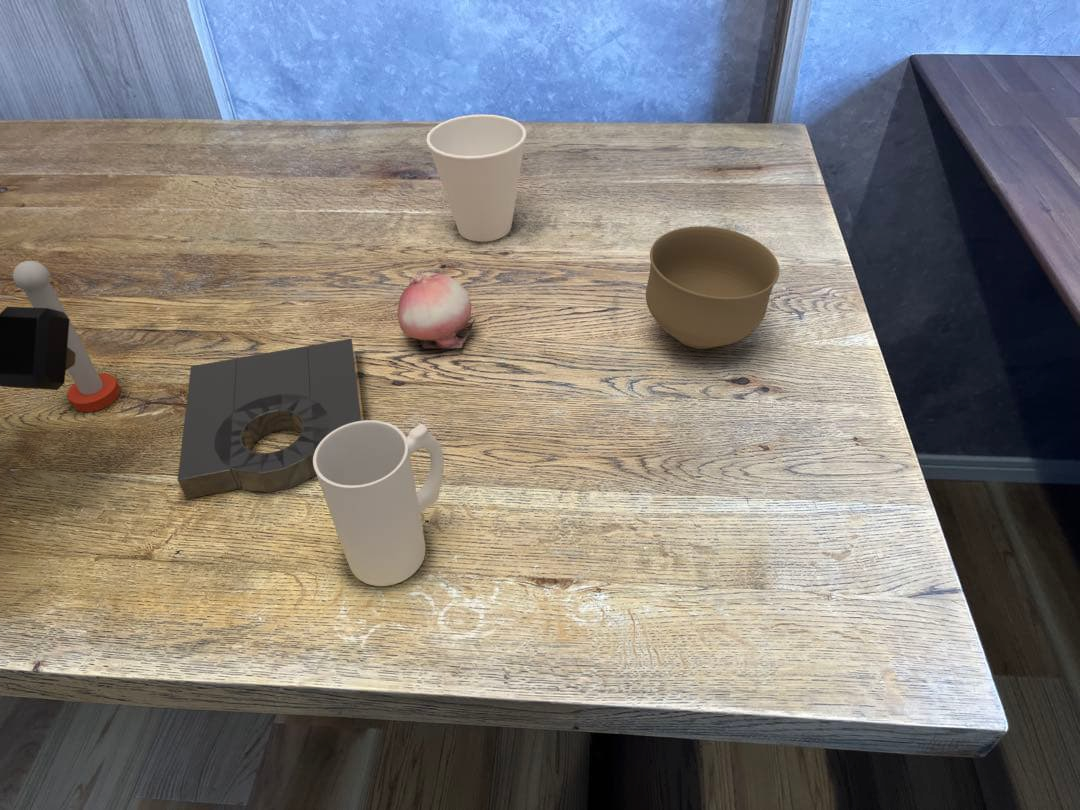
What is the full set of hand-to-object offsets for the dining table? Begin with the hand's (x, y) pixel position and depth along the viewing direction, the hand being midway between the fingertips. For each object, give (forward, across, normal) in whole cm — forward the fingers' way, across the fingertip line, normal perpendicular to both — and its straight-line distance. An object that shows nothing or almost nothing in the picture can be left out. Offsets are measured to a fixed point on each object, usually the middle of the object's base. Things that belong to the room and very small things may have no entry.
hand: (25, 356), depth 72 cm
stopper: (+10, 0, +3) cm, 11 cm away
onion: (+19, -33, -6) cm, 38 cm away
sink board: (+9, -20, +4) cm, 22 cm away
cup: (+35, -34, -22) cm, 53 cm away
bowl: (+20, -61, -7) cm, 65 cm away
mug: (-1, -36, +14) cm, 38 cm away
